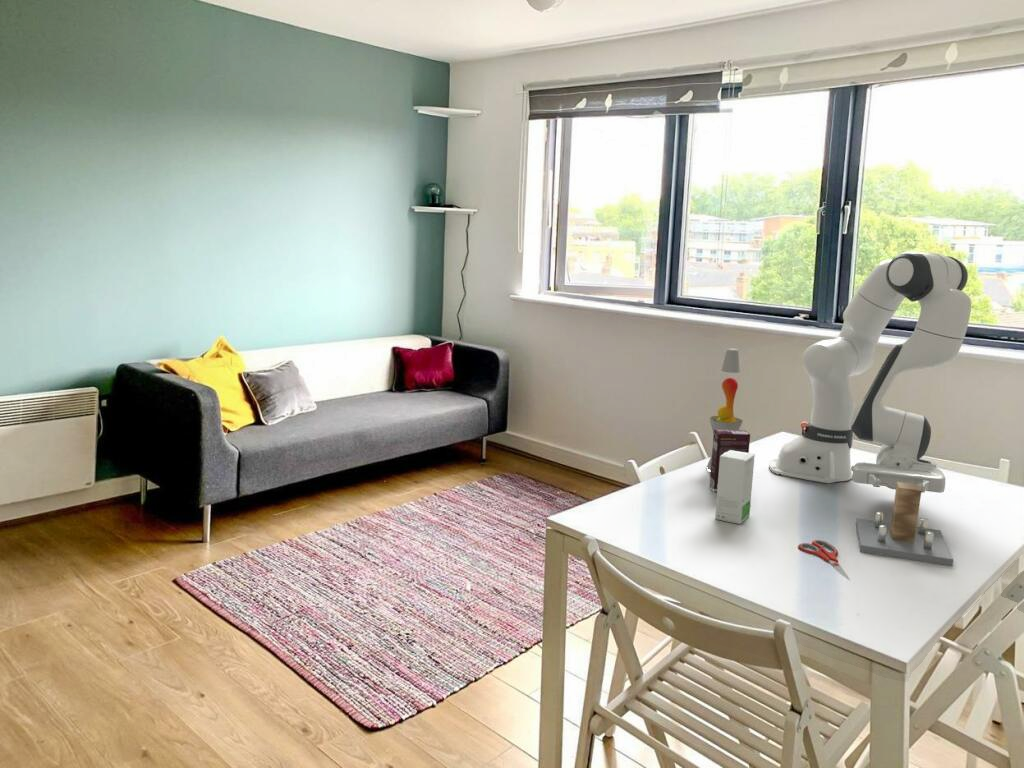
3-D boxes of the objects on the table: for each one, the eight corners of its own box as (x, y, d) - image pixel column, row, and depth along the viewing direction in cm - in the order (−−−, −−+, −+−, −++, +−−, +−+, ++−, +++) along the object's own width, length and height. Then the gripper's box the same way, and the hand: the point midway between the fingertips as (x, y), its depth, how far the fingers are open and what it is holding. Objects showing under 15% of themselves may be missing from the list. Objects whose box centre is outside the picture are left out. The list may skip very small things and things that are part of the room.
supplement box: (740, 487, 220) (745, 429, 216) (745, 493, 215) (751, 434, 212) (708, 486, 219) (713, 428, 216) (712, 492, 215) (718, 433, 211)
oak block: (891, 539, 182) (898, 487, 180) (890, 532, 186) (896, 481, 184) (914, 542, 181) (921, 490, 178) (911, 535, 185) (919, 484, 183)
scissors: (850, 588, 161) (851, 581, 161) (791, 546, 181) (792, 540, 181) (884, 585, 163) (885, 579, 163) (822, 545, 183) (823, 538, 183)
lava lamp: (715, 463, 240) (726, 345, 233) (743, 471, 234) (755, 349, 227) (699, 469, 234) (709, 348, 227) (727, 477, 228) (739, 352, 221)
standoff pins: (877, 542, 180) (879, 527, 180) (873, 525, 190) (875, 511, 190) (931, 550, 177) (934, 534, 176) (925, 533, 187) (927, 518, 186)
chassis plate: (860, 551, 178) (860, 545, 178) (855, 524, 195) (856, 518, 195) (952, 566, 173) (953, 559, 172) (939, 536, 189) (940, 530, 189)
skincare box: (740, 525, 191) (746, 461, 188) (712, 519, 195) (718, 455, 192) (750, 515, 198) (756, 453, 195) (723, 509, 202) (729, 448, 199)
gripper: (852, 453, 207) (852, 468, 195) (943, 463, 200) (949, 479, 187) (850, 477, 208) (849, 493, 196) (940, 488, 201) (945, 505, 188)
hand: (898, 486), depth 191 cm, fingers open, 8 cm apart
